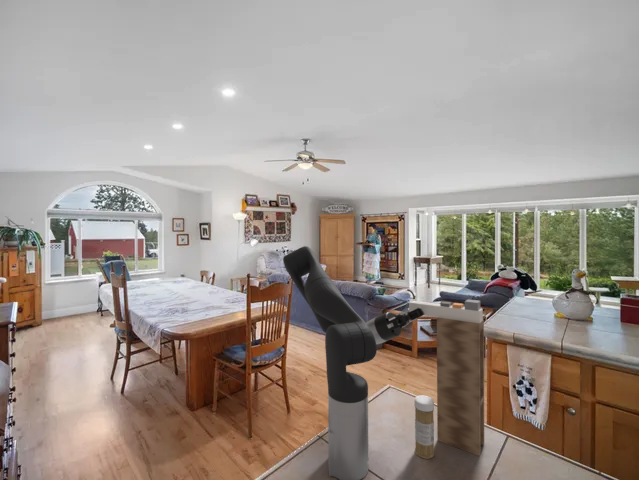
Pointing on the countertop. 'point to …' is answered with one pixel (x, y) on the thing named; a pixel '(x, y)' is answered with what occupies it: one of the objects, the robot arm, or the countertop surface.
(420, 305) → the power strip
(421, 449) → the sprinkles bottle
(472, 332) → the tall wooden block
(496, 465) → the countertop surface
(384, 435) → the countertop surface
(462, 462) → the countertop surface
